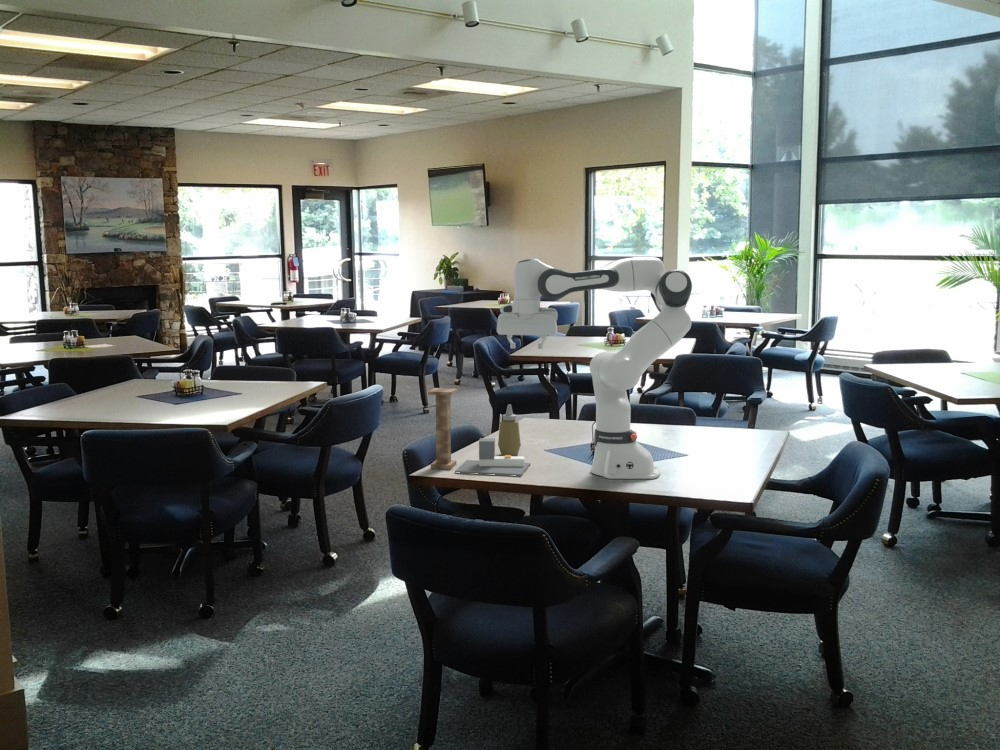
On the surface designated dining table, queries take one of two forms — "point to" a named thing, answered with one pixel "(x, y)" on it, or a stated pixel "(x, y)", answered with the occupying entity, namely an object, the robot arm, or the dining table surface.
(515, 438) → the squeeze bottle
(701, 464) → the dining table surface
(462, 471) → the grey flat rectangular slab
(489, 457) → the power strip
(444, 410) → the walnut stand
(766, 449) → the dining table surface
